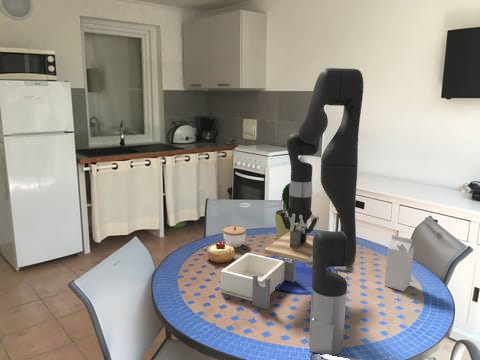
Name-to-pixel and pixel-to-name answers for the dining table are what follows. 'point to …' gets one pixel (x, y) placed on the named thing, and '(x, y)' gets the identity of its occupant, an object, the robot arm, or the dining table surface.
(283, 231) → the potted cactus
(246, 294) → the white open box
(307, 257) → the door
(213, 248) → the pastry
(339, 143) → the robot arm
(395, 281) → the milk carton
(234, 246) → the lidded jar
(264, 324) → the dining table surface
